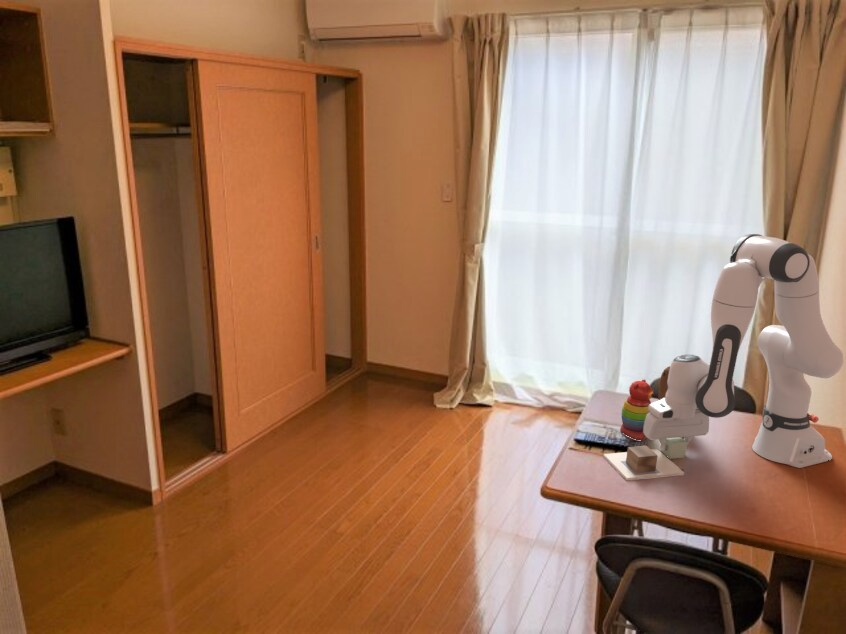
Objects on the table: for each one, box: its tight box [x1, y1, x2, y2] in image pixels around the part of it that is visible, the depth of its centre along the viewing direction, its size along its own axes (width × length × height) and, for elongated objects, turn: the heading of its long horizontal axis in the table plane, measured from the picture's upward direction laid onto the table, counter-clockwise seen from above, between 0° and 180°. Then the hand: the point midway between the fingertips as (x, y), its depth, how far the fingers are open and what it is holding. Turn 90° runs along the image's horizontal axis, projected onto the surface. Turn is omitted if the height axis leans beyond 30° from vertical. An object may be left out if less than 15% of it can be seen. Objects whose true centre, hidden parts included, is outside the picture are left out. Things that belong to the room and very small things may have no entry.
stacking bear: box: [619, 379, 654, 442], centre depth 213 cm, size 11×10×18 cm
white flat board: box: [602, 449, 685, 482], centre depth 195 cm, size 18×14×1 cm
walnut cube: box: [626, 445, 658, 473], centre depth 192 cm, size 6×6×5 cm
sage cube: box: [660, 437, 688, 459], centre depth 202 cm, size 5×5×5 cm
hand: (673, 449), depth 202 cm, fingers closed on sage cube, 5 cm apart
